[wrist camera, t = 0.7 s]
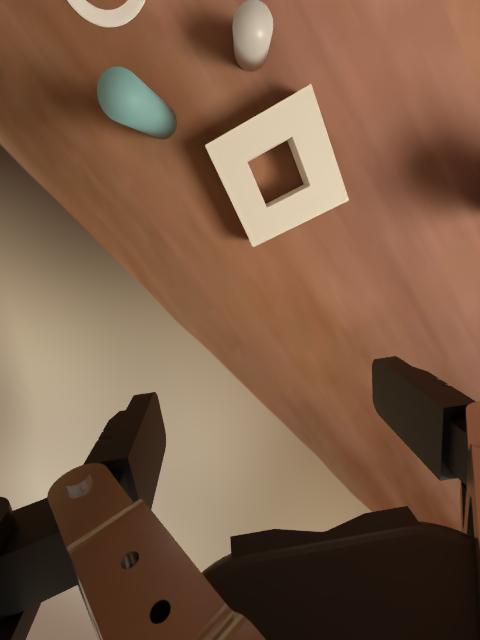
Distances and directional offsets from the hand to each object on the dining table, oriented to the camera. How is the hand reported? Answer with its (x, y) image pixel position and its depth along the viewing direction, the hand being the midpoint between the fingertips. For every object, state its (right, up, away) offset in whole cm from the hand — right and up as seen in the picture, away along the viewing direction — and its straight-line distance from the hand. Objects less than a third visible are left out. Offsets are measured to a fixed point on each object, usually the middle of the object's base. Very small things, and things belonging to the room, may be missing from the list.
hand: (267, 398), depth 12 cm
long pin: (-9, +22, +18) cm, 30 cm away
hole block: (+3, +18, +20) cm, 27 cm away
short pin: (0, +27, +16) cm, 31 cm away
